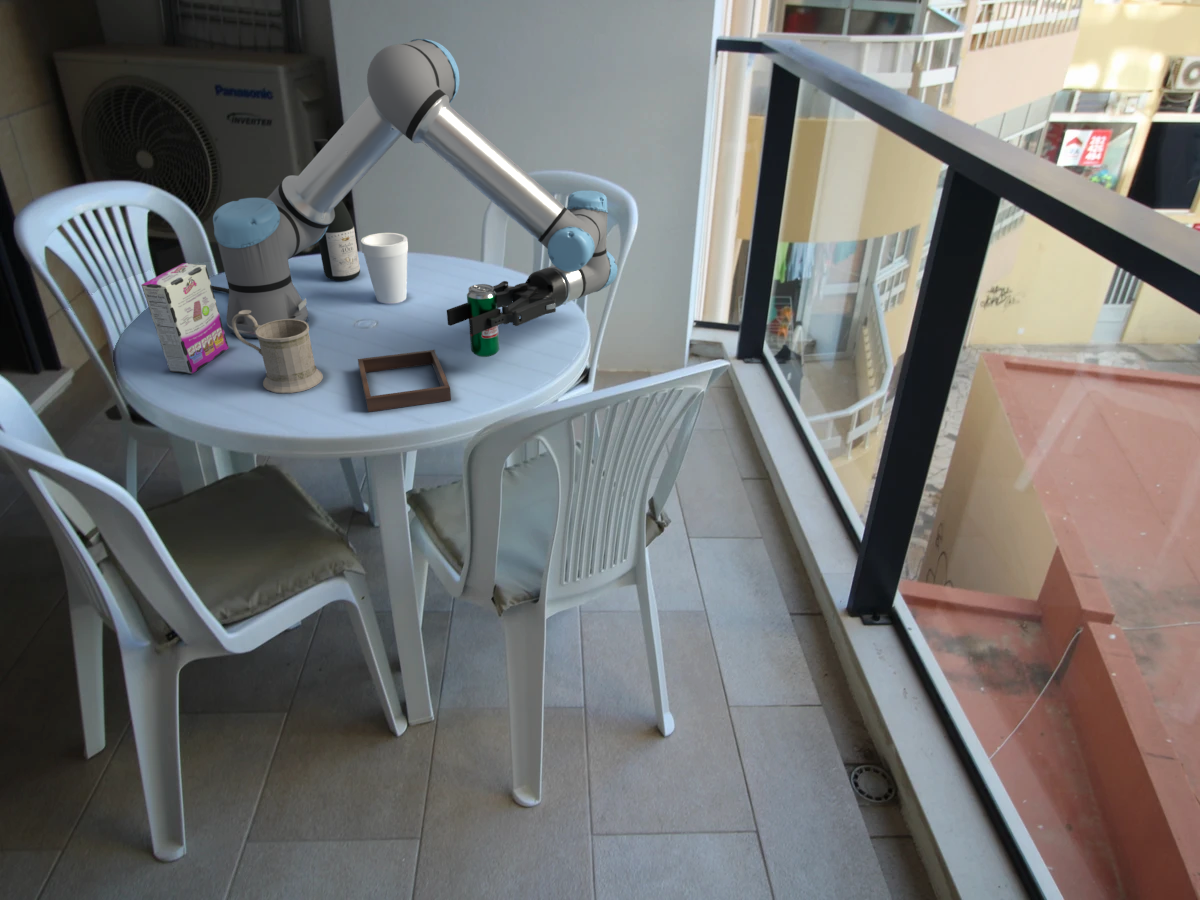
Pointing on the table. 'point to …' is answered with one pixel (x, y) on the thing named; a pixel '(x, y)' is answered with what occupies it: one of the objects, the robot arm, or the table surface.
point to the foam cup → (387, 265)
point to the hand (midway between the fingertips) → (459, 322)
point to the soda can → (478, 303)
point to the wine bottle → (339, 241)
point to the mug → (284, 354)
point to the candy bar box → (186, 317)
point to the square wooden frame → (408, 396)
